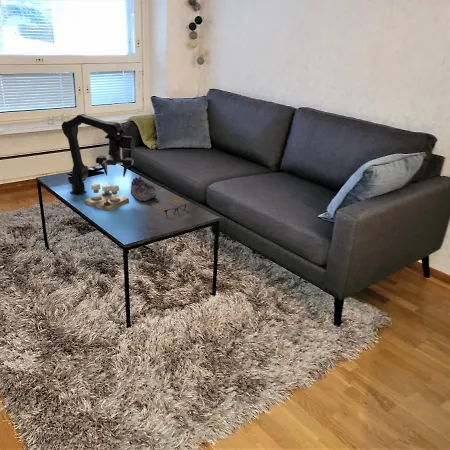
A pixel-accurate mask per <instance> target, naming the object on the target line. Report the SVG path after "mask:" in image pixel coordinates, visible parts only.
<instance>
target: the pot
mask: <svg viewBox="0 0 450 450" xmlns="http://www.w3.org/2000/svg"><path fill="white" fill-rule="evenodd" d="M104 205H106V206H108V205H111V203H110V202H108V197H106V202H104Z"/></svg>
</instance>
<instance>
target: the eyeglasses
mask: <svg viewBox="0 0 450 450" xmlns="http://www.w3.org/2000/svg"><path fill="white" fill-rule="evenodd" d="M173 201H174V202H177V203H179V204H181V205H180V206H178V207H175V208H170V209H163V208H160V207H157V206H154V205H151V206H149V207H148V210H150V209H151V208H156V209H158V210H160V211H162V212H164V213H165V215H166V217H168V214H167V213H168V212H169V211H171V210H174V211H173V215H175V214H176V212H177V213H180V212H179V209H180V208H181V207H183V206H184V209H183V211H182V212H184V211H185V210H186V207H187V203H184V202H182V201H178V200H175V199H172V200H170V201H169V202H168V204H170V203H171V202H173Z"/></svg>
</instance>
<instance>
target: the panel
mask: <svg viewBox="0 0 450 450" xmlns="http://www.w3.org/2000/svg"><path fill="white" fill-rule="evenodd" d="M106 197H108V202H110V203H111V205H108V206H106V205H104V202H106ZM129 202H130V198H129V197H128V196H127V197H126V196H122V195H118V194H116V195H113V194H112V192H111V191H109V194H104V192H101V193H98V194H97V195H94V196H92V197H89V198H87V199H84V204H85V205H89V206H91V207H94V208H98V209H101V210H105V211H111V210H113V209H116V208H117V207H120V206H122V205H125V204H127V203H129Z"/></svg>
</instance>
